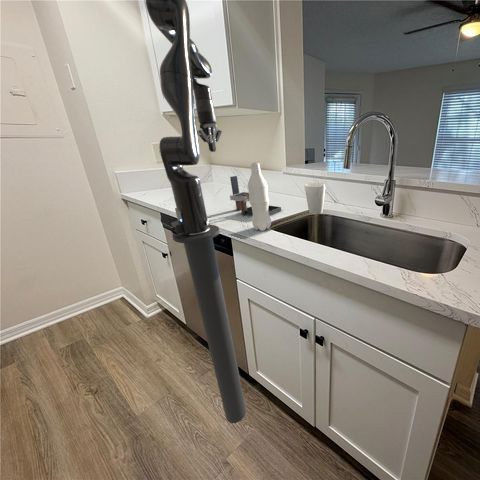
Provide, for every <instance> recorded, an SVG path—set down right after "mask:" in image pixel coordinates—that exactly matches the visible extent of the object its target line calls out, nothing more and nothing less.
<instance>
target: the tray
mask: <svg viewBox="0 0 480 480" xmlns="http://www.w3.org/2000/svg"><path fill="white" fill-rule="evenodd" d="M240 211H241V215H243V213H242V210H240ZM268 211H269V216H273V215H275V214H277V213H280V212H282V207H281V206H275V205H269V206H268ZM245 216H251V217H253V211H252V207H251V206H248V207H247V208H246V215H245Z"/></svg>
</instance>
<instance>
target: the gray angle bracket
mask: <svg viewBox="0 0 480 480" xmlns="http://www.w3.org/2000/svg"><path fill="white" fill-rule="evenodd" d="M229 178H230V184H231V192H232V194H231V195H229V200H230V201H234V202H235V201H241V200H244V201H245V203H246V204H247V203H248V202H250V198H246V197H241V196H249V191H248V192H247V191H242V192H240V189H239V187H240V186H239V181H238V175H233V176H229Z"/></svg>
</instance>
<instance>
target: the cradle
mask: <svg viewBox="0 0 480 480" xmlns="http://www.w3.org/2000/svg"><path fill="white" fill-rule="evenodd" d="M234 202H235V208H236V209H235V210H236V211H239V212H240V211H241V210H242V211H241V214H242V213H243V214H242V216H247V215H246V208H248V205H247V203H245V201H244V200H241V201H234Z"/></svg>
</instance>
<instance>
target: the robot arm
mask: <svg viewBox="0 0 480 480" xmlns="http://www.w3.org/2000/svg"><path fill="white" fill-rule="evenodd" d="M145 7H146V10H147V13H148V16H149V18H150V20H151V22H152V24H153V25H154V26H155V28H156V29H157V30H158V31H159V32H160V33H161V34H162V35H163V36H164V38H166V40H167V41H169V43H170V44H171V46H170V48H169V50H168V52H166V54H165V56H164V58H163V60H162V62H161V63H160V67H159V81H160V82H159V83H160V90H161V94H162V97H163V98H164V100H165V101H166V103H167V104H168V105H169V107H170V109H171V110H172V111H173V113H174V114H175V116H176V117H177V119H178V121H179V124H180V129H181V130H180V131H181V135H179V136H176V135H175V136H163V137H162V138H161V139H160V140H159V143H158V144H159V145H158V146H159V147H158V148H159V154H160V158H161V161H162V164H163V167H164V171H165V174H166V178H167V179H168V182H169V183H170V186H171V191H172V195H173V199H174V203H175V208H174V211H175V215H176V219H177V220H175V221H171V222H170V224H171V227H172V228H171V229H170V231H171V234H172V235H173V234H179V233H182V234H183V235H184V236H186V237H188V236H196V235H201V234H204V233H207V232H208V231H209V230H210V228H209V225H210V219H209V218H208V215H207V210H206V205H205V199H204V195H203V189H202V185H201V179H200V177H199V176H198V175H196V174H193V173H190V172H189V171H187V170H185V169H184V166H186V167H187V166H191V167H192V166H196V165H198V163H199V162H200V157H201V155H200V154H201V153H200V152H201V151H200V144H199V138H200V139H201V140H202V141H203V142H204V143H207V145H208V151H210V153H213V152H214V153H215V152H216V151H217V145H216V143H217V142H219V140H220V138H221V136H222V133H223V131H222V130H220V129H219V128H218V126H217V117H216V112H215V106H214V103H213V97H212V91H211V88H210V86H209V85H208V84H203V83H199V82H198V81H197V80H198V79H199V80H203V79H204V80H207V79H210V78H211V77H212V73H213V70H212V67H211V64H210V62H209V61H208V60H207V58H206V57H205V56H204V55H203V54H201V52H200V51H199V49H198V47H197V45H196V43H195V42H194V41H193V39H192V38H191V21H190V11H189V7H188V2H187V1H186V0H145ZM194 100H195V103H194ZM195 109H196V115H197V119H198V123H199V129H198V130H197V124H196V115H195ZM198 136H199V137H198Z"/></svg>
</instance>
